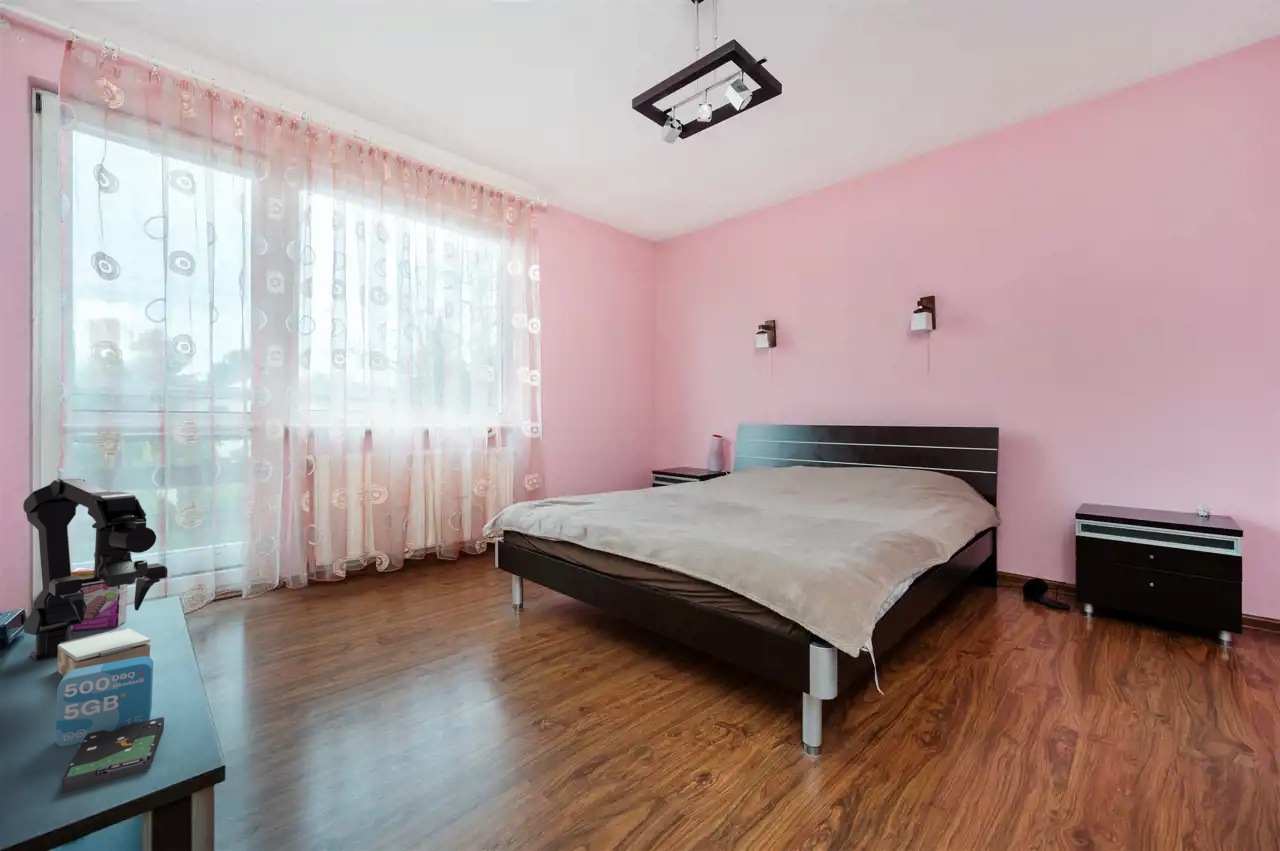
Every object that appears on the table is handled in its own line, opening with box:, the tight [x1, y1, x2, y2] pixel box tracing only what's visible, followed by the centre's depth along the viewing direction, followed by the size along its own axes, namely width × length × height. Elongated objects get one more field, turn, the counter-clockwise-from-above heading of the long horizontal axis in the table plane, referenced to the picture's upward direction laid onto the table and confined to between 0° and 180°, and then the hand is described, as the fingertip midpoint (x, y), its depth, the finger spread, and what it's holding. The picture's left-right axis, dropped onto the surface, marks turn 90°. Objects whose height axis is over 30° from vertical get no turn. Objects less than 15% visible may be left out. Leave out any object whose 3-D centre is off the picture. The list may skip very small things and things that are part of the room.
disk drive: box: [60, 716, 165, 794], centre depth 89 cm, size 10×3×15 cm
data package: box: [55, 656, 154, 747], centre depth 96 cm, size 12×4×12 cm, turn 130°
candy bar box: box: [71, 566, 128, 632], centre depth 146 cm, size 11×5×16 cm, turn 115°
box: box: [56, 643, 151, 677], centre depth 121 cm, size 14×12×5 cm
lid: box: [58, 627, 151, 661], centre depth 121 cm, size 16×12×1 cm
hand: (109, 615), depth 122 cm, fingers open, 9 cm apart
